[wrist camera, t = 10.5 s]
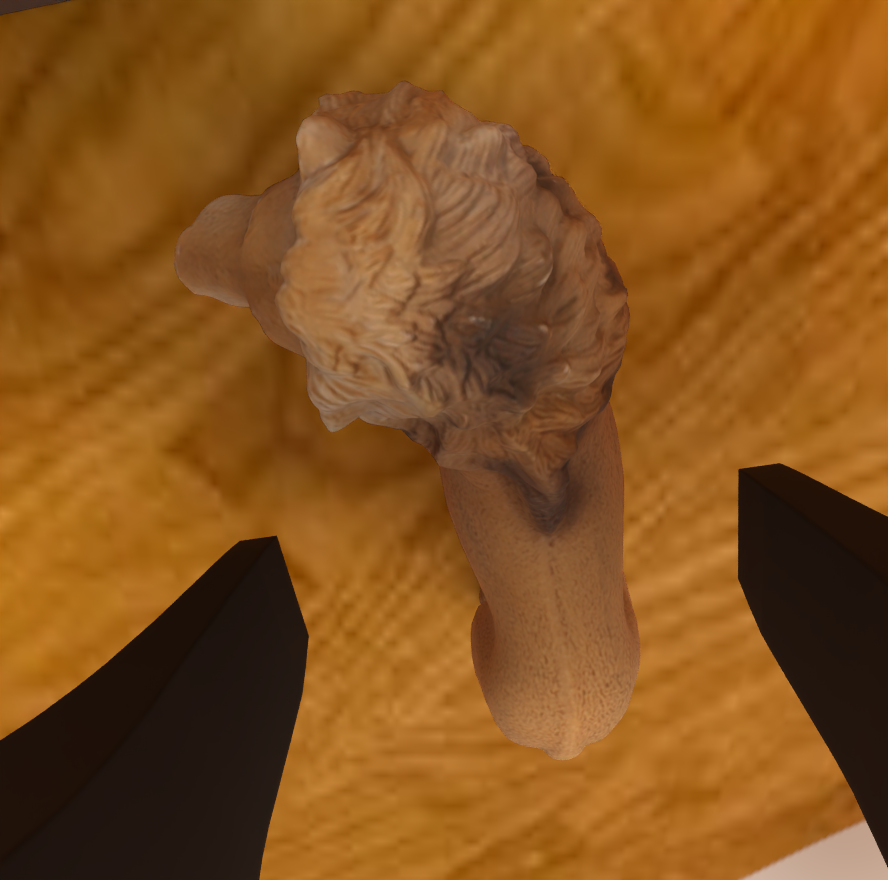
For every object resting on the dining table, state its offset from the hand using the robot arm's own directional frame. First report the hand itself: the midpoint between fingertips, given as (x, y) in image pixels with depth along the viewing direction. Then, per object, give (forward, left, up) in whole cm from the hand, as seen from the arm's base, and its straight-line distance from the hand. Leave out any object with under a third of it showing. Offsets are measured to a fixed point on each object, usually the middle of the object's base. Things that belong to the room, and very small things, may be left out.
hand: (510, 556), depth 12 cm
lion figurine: (0, 0, -6) cm, 7 cm away
